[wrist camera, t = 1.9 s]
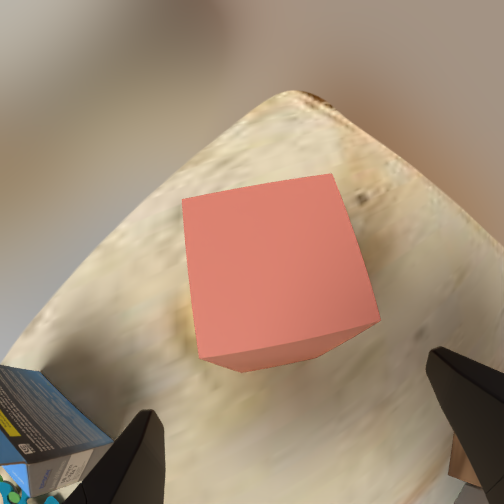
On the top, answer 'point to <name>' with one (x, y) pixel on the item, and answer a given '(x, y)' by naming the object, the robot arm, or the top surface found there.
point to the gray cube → (471, 496)
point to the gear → (17, 494)
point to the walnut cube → (461, 464)
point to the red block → (274, 273)
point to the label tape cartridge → (44, 434)
